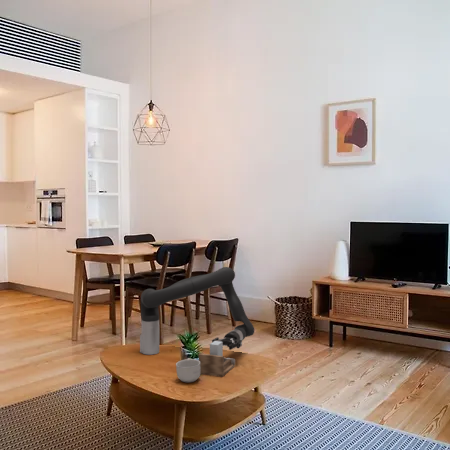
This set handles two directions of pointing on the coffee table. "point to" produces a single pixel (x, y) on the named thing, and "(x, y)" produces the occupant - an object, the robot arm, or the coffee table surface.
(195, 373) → the teacup
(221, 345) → the tall grey pillar
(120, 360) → the coffee table surface
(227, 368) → the track block
